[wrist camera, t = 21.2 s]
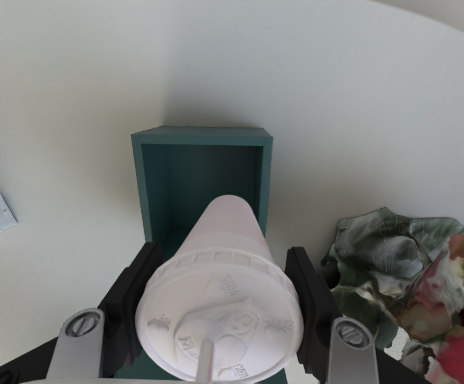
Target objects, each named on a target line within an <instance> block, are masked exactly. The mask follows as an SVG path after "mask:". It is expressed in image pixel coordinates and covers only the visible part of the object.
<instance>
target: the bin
mask: <svg viewBox="0 0 464 384" xmlns="http://www.w3.org/2000/svg"><path fill="white" fill-rule="evenodd" d="M131 139H132V146H133V154H134V161H135V168H136V176H137V183H138V190H139V197H140V205H141V212H142V219H143V227H144V234H145V241H146V242H157V243H158V245H161V246H162V254H163V264H164V263H166V262H167V261H168V260H170V259H171V258H172V257H174V255H175V254H176V252H177V251H178V250H179V248H180V247H181V245H182V244H183V242H184V241H185V239H186V238H187V236H188V235H189V233H190V232H191V230H192V229H193V227H194V226H195V225H196V223H197V222H198V220H199V219H200V217H201V216H202V214H203V213H204V211H205V210H206V208H207V207H208V205H209V204H210V203H211V202H212V201H213V200H214V199H216V198H217V197H220V196H223V195H234V196H238V197H240V198H242V199H244V200H245V201H246V202H247V203H248V204H249V205H250V207H251V209H252V211H253V214H254V216H255V218H256V220H257V223H258V225H259V227H260V229H261V232H262V234H263V236H264V239H265V233H266V221H267V208H268V195H269V182H270V170H271V157H272V144H273V137H272V136H271V135H270V134H269V133H268V132H266V131H265V130H264V129H263V128H231V127H179V126H160V127H156V128H153V129H149V130H145V131H141V132H138V133H134V134H131Z"/></svg>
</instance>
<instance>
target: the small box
mask: <svg viewBox="0 0 464 384" xmlns="http://www.w3.org/2000/svg"><path fill="white" fill-rule="evenodd" d="M15 224H17V222H16V220H15V218H14V217H13V215H12V213H11V211H10V210H9V208H8V206H7V205H6V203H5V201H4V199H3V198H2V196H1V194H0V233H1V232H3V231H4V230H6V229H8V228H10V227H12V226H14V225H15Z"/></svg>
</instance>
